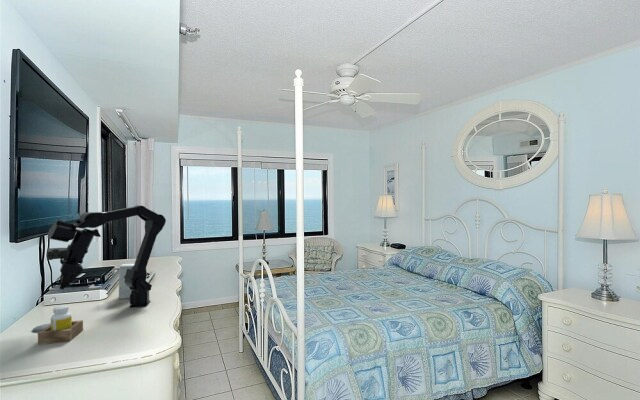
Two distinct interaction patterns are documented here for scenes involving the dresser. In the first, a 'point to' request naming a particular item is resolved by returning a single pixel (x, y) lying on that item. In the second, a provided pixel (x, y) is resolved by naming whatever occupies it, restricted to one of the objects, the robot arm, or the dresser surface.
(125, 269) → the skincare box
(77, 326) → the wooden tray
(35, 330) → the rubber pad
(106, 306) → the dresser surface
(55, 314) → the supplement bottle
